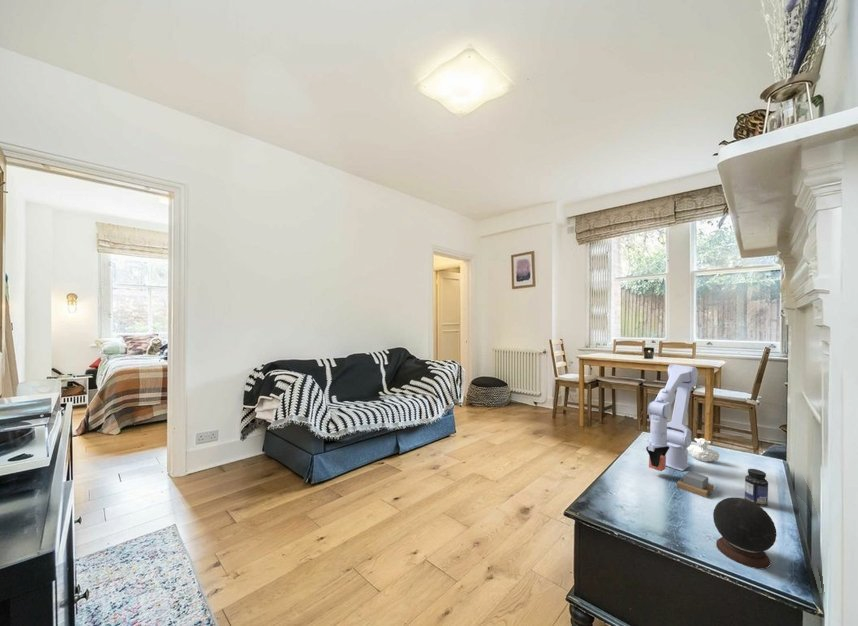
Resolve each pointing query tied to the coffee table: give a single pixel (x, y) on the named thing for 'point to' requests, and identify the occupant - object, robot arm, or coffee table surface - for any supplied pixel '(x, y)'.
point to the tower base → (695, 488)
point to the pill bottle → (756, 487)
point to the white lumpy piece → (703, 451)
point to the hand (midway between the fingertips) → (657, 464)
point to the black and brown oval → (744, 531)
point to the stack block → (661, 464)
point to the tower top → (695, 479)
